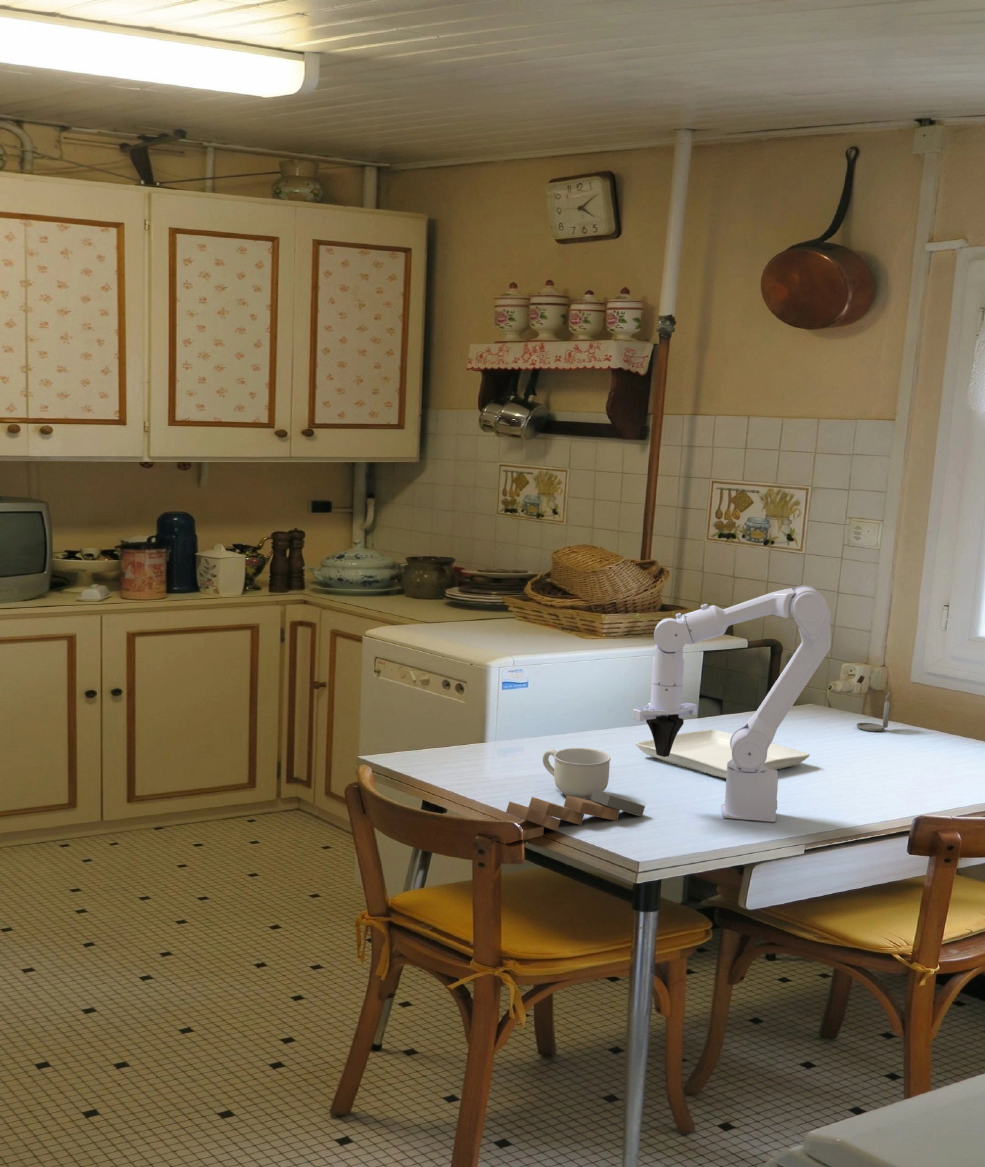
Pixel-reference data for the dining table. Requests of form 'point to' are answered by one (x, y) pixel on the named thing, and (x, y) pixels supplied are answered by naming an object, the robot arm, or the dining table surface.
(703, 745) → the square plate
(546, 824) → the domino
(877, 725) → the grey dish with post
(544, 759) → the teacup
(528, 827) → the domino
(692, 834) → the dining table surface
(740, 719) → the dining table surface
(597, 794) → the domino
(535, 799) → the domino
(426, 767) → the dining table surface
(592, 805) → the domino
